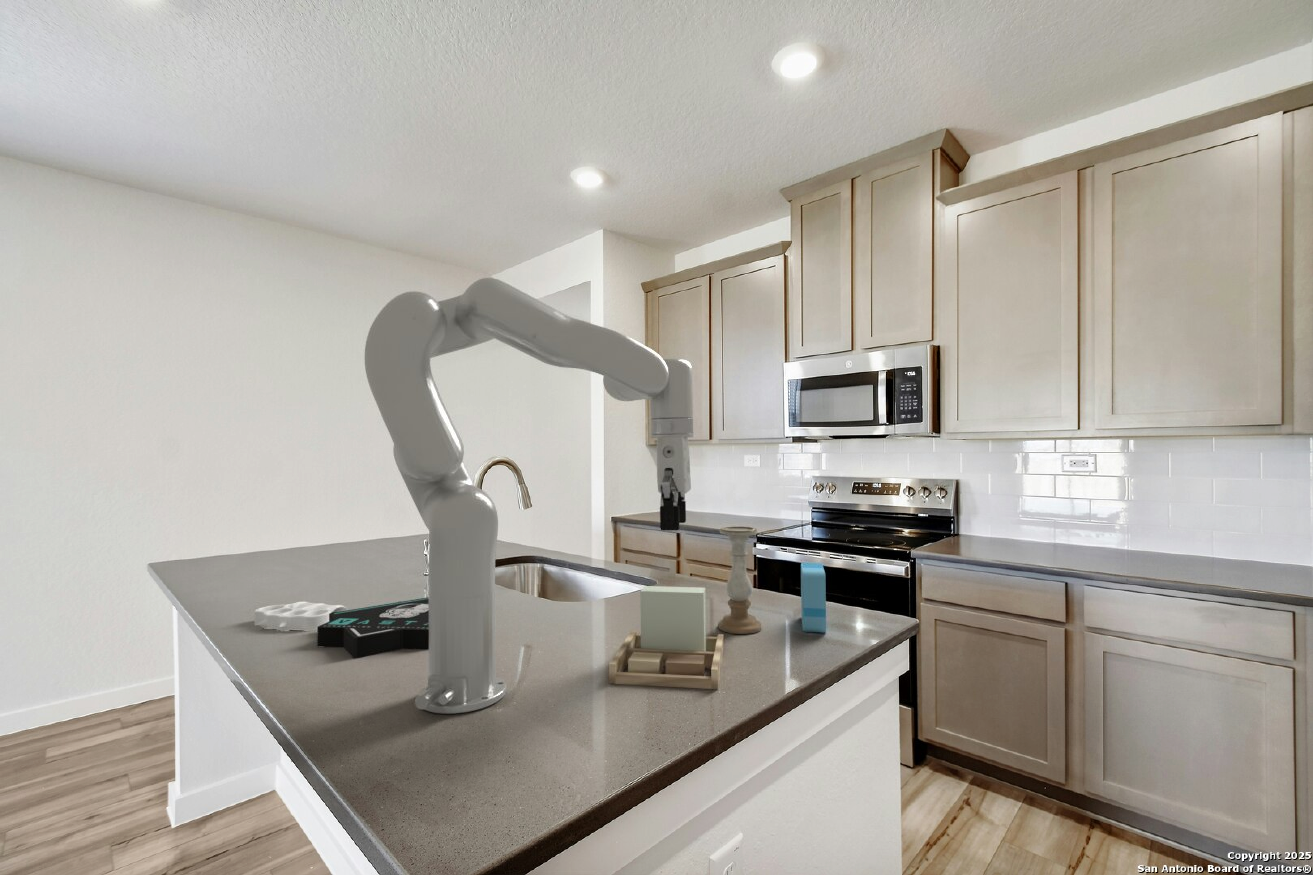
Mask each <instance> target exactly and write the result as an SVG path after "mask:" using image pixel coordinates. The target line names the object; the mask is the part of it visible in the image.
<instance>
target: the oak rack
mask: <svg viewBox="0 0 1313 875" xmlns="http://www.w3.org/2000/svg"><path fill="white" fill-rule="evenodd" d="M724 636H725V635H724V634H722V633H721V634H720V633H719V634H717V636H706V651H687V650H665V649H642V648H641V633H638V631H637V630H631V631H630V632H629V634H628V635H627V637H626V638H625V640H624V641H623V643H622V645H620V648H619V649H618V651H616V654H615V655H614V656H613V658H612V659H611V661H610V662H609V664H608V668H609V669H608V671H609V672H608V682H609V683H608V684H611V683H614V685H633V686H646V687H647V686H649V687H669V688H683V689H684V688H687V689H705V690H706V689H708V690H719V685H720V678H721V672H722V665H723V658H724V653H725V651H724V650H725V646H724V645H725V642H724V641H725V640H724V638H725V637H724ZM633 652H643V653H662V654H663V667H666V660H667V657H668V654H681V655H705V669H709V670H711V671H710V672H711V675H709V676H705V675H704V676H689V675H670V674H666V673H662V674H650V673H631V672H628V671H624V670H625V668H626V666H627V665H626V664H628V660H629V658H630V657H631V655H632V654H633Z"/></svg>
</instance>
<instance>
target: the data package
mask: <svg viewBox="0 0 1313 875" xmlns="http://www.w3.org/2000/svg"><path fill="white" fill-rule="evenodd" d="M826 584H827V583H826V572H825V569H824V565H823V563H821V562H820V563H814V562H801V564H800V595H801V597H800V598H801V599H800V600H801V601H800V604H801V610H800V611H801V627H802V628H801V630H802V631H803V632H807V633H826V632H827V602H826V601H827V596H826V593H827V592H826V588H827V587H826Z"/></svg>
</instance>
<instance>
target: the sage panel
mask: <svg viewBox="0 0 1313 875" xmlns="http://www.w3.org/2000/svg"><path fill="white" fill-rule="evenodd" d="M706 604H707V603H706V587H700V586H699V587H696V586H695V587H694V586H691V587H690V586H661V585H659V586H658V585H657V586H656V585H655V586H653V585H644V586H643V587H642V589H641V590H640V634H641V648H642V649H665V650H687V651H706V637H707V633H706V632H707V630H706V629H707V628H706V627H707V626H706V625H707V624H706V623H707V622H706V620H707V618H706V614H707V613H706V612H707V611H706Z"/></svg>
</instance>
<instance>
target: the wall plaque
mask: <svg viewBox="0 0 1313 875" xmlns="http://www.w3.org/2000/svg"><path fill="white" fill-rule="evenodd" d="M316 631H317V633H316V634H317V635H316V637H317V642H316V644H317V646H324V647H323V648H344V650H345V651H346V652H347V653H348V655H350V656H351V657H352V658H353V659H361V658H366V657H372V656H375V655H380V654H386V653H389V652H390V653H391V652H394V651H399V650H426V651H427V650H428V651H429V596H427V597H421V598H416V599H411V600H404V601H398V602H397V601H396V602H393V603H392V602H391V603H385V604H379V605H372V606H365V607H361V608H360V607H359V608H352V609H347V610H346V611H340V612H334V613H329V622H327V623H325V624H322V625H320V626H318V627H317V630H316ZM317 646H316V647H317Z"/></svg>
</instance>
